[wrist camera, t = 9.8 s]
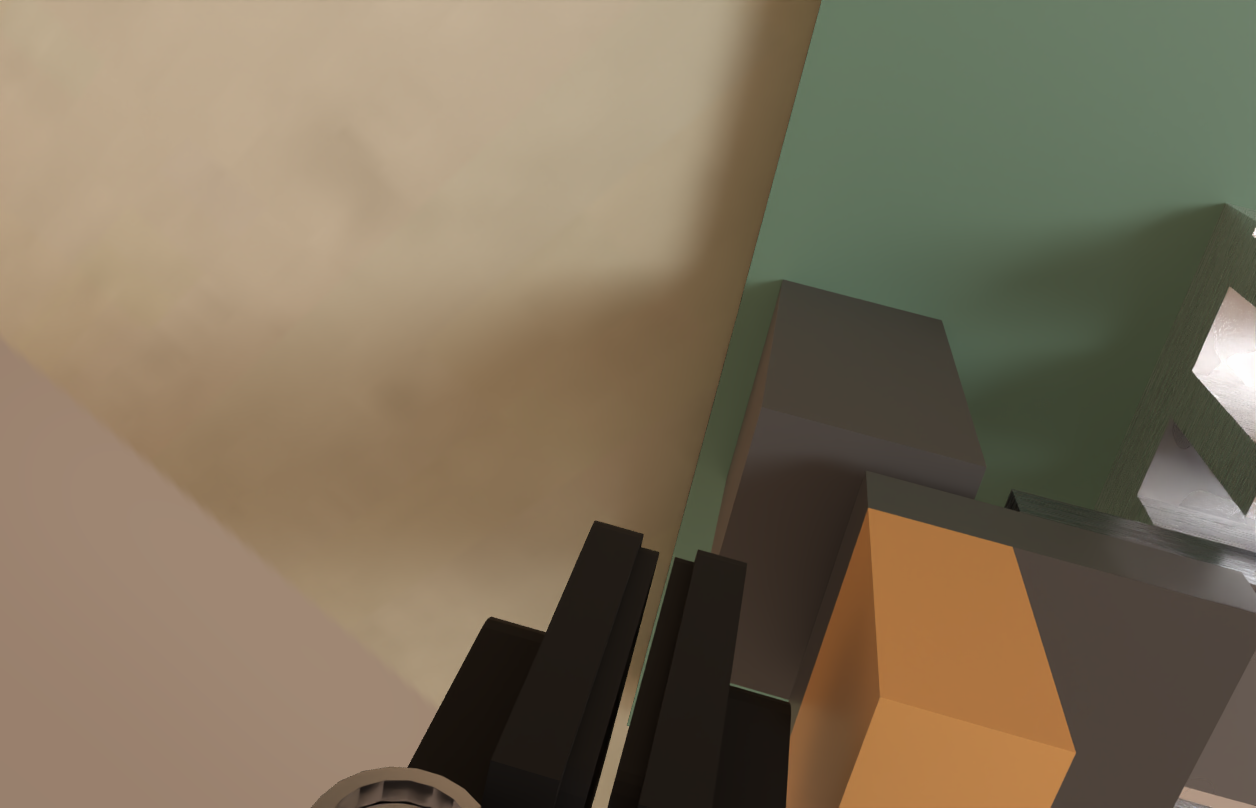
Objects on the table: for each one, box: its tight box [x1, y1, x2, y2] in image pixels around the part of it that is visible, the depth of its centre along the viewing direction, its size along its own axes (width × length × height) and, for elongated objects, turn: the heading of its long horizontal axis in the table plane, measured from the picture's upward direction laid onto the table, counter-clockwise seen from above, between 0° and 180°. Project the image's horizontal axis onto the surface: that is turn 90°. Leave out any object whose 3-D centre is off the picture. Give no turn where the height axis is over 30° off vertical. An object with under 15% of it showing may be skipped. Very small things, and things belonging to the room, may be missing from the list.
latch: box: [786, 471, 1256, 808], centre depth 12 cm, size 4×4×4 cm
